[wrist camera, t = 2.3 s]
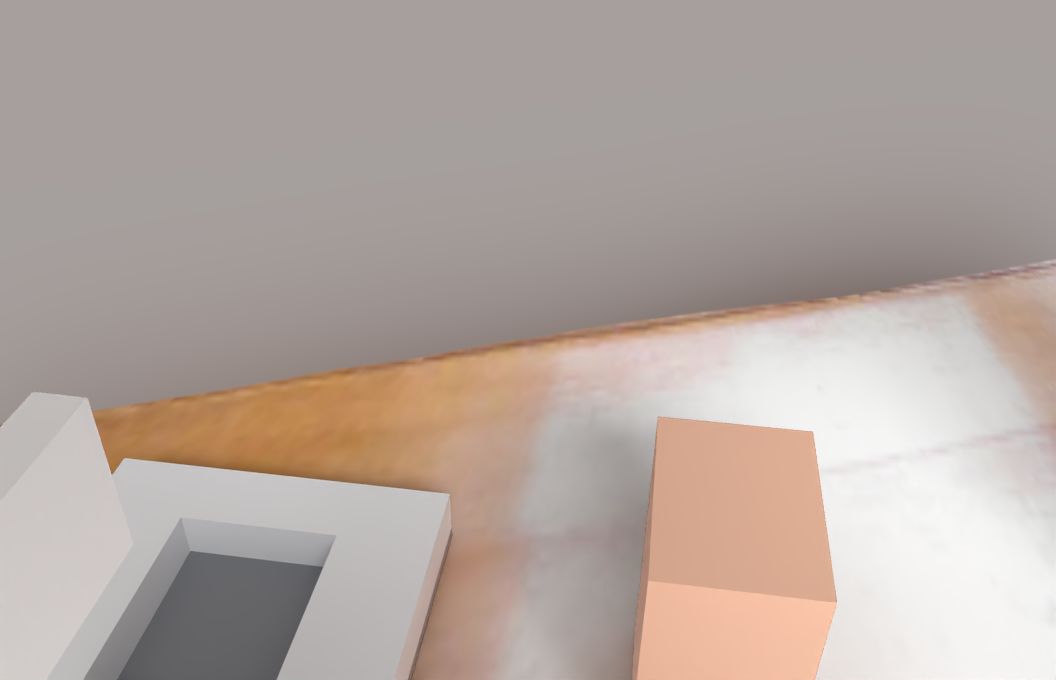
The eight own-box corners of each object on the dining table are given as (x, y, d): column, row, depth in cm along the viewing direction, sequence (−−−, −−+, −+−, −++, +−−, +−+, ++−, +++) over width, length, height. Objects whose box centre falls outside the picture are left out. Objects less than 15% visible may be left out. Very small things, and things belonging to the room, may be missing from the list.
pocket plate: (452, 535, 42) (449, 493, 41) (355, 875, 31) (347, 834, 29) (137, 498, 44) (124, 458, 43) (-70, 808, 32) (-97, 766, 31)
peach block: (763, 645, 38) (813, 431, 31) (773, 820, 32) (836, 602, 26) (635, 629, 38) (657, 416, 32) (623, 798, 33) (648, 580, 26)
